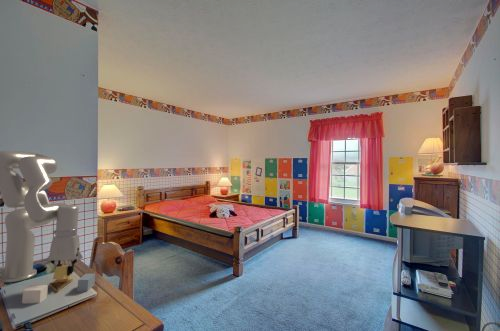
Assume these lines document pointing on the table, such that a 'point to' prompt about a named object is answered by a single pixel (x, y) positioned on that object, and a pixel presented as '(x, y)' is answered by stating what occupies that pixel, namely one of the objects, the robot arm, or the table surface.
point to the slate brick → (86, 282)
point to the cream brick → (35, 294)
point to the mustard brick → (61, 273)
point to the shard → (60, 283)
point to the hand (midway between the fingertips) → (64, 273)
